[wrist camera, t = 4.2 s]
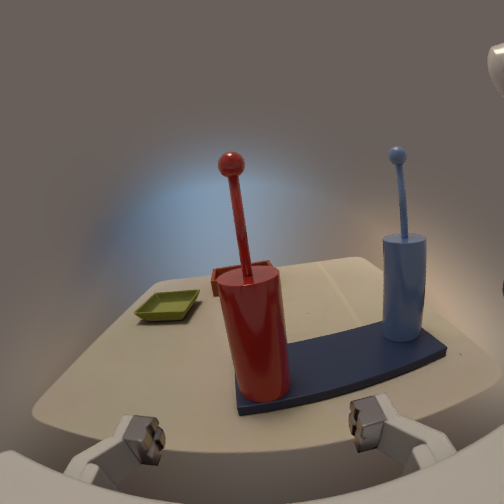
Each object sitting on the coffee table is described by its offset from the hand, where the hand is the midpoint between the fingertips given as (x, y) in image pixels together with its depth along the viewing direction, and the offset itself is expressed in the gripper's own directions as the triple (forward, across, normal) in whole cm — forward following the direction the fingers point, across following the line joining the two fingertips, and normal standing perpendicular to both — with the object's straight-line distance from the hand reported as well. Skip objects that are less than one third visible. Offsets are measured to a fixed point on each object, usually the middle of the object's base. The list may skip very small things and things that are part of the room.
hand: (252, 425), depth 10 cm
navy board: (+14, -7, +8) cm, 17 cm away
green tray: (+32, +15, +8) cm, 36 cm away
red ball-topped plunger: (+11, 0, +7) cm, 13 cm away
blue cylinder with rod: (+15, -15, +7) cm, 22 cm away
